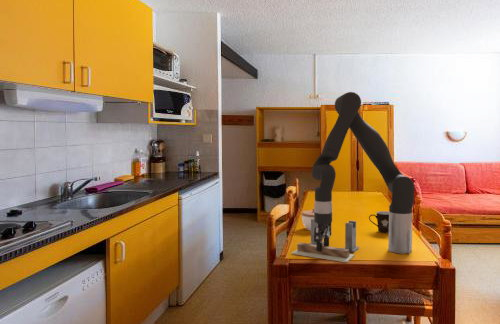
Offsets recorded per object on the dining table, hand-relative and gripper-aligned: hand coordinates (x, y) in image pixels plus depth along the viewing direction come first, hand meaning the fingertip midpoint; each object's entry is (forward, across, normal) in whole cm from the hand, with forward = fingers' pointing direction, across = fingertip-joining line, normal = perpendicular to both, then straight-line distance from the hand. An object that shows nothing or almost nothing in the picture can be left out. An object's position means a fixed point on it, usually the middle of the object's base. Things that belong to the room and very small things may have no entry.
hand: (322, 249), depth 176 cm
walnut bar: (+2, 0, 0) cm, 2 cm away
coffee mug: (+3, +55, -12) cm, 56 cm away
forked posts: (+3, +13, 0) cm, 13 cm away
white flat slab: (+3, 0, 0) cm, 3 cm away
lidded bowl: (+3, +42, +21) cm, 47 cm away
